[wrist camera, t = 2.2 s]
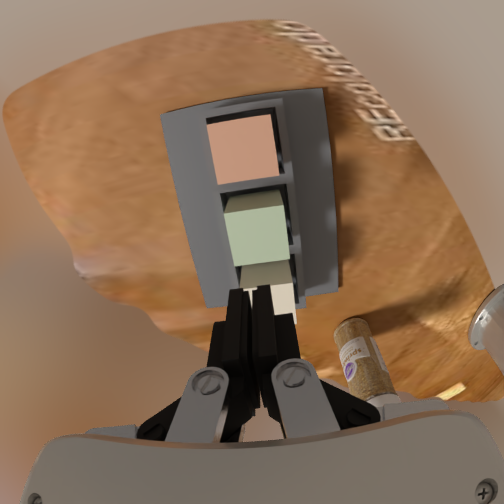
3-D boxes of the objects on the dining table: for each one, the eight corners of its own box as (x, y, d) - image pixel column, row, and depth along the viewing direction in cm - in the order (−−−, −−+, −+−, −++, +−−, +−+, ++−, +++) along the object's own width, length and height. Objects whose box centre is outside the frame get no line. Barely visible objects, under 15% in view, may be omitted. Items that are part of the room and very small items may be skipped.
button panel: (320, 88, 22) (330, 84, 18) (336, 288, 30) (345, 308, 27) (162, 114, 23) (147, 114, 20) (207, 304, 31) (202, 325, 28)
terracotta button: (267, 115, 21) (270, 114, 17) (275, 165, 22) (279, 175, 18) (216, 124, 21) (206, 124, 17) (225, 172, 23) (217, 184, 19)
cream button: (287, 255, 26) (292, 282, 22) (291, 293, 27) (296, 323, 23) (242, 261, 26) (239, 289, 22) (249, 299, 28) (248, 329, 24)
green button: (279, 189, 23) (283, 204, 19) (284, 234, 25) (290, 259, 21) (229, 196, 23) (223, 213, 19) (238, 241, 25) (234, 266, 21)
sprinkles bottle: (336, 316, 32) (366, 413, 20) (372, 315, 32) (413, 405, 20) (329, 345, 34) (352, 438, 22) (363, 343, 34) (394, 431, 22)
